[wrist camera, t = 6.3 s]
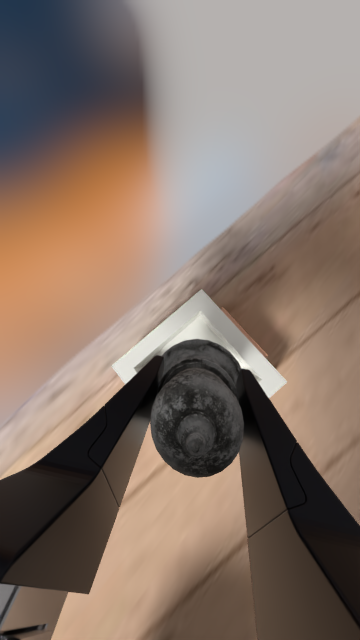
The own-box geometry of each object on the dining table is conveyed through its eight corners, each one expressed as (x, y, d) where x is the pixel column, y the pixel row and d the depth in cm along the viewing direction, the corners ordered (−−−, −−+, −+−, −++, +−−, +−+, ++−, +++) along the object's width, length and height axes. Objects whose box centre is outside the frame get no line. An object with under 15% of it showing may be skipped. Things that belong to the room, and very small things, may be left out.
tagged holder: (273, 373, 22) (290, 378, 18) (190, 447, 22) (189, 469, 18) (203, 296, 24) (204, 286, 20) (125, 363, 23) (111, 366, 19)
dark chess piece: (222, 333, 17) (282, 283, 5) (246, 408, 16) (397, 580, 4) (152, 353, 17) (44, 351, 5) (171, 428, 16) (90, 649, 4)
